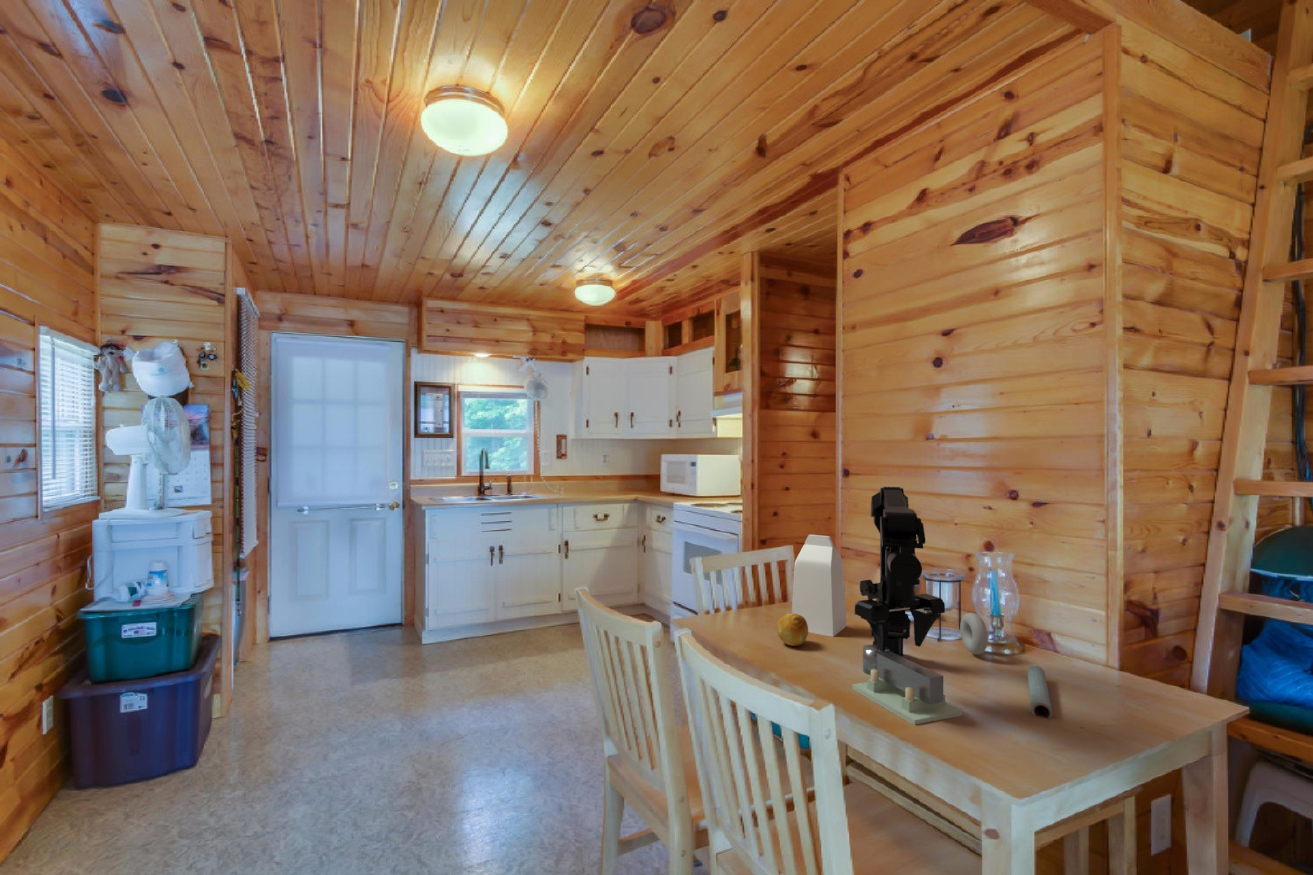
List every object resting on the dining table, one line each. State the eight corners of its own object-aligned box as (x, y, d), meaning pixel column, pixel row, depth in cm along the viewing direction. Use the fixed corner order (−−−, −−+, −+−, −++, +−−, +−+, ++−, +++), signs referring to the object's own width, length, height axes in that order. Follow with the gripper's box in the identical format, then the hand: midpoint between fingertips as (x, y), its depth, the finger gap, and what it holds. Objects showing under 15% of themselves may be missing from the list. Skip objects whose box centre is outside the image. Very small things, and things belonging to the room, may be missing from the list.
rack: (897, 681, 137) (897, 658, 137) (963, 715, 121) (963, 689, 121) (852, 688, 133) (852, 665, 133) (914, 725, 116) (914, 698, 116)
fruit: (812, 650, 158) (812, 618, 158) (779, 649, 158) (779, 618, 158) (804, 639, 166) (805, 609, 166) (774, 639, 166) (774, 609, 166)
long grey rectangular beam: (877, 665, 138) (877, 643, 138) (947, 700, 120) (947, 675, 120) (857, 669, 137) (857, 646, 137) (925, 705, 118) (925, 678, 118)
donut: (957, 646, 160) (957, 607, 160) (971, 646, 160) (971, 607, 160) (976, 660, 150) (976, 619, 150) (990, 660, 150) (990, 619, 150)
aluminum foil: (1027, 679, 140) (1027, 663, 140) (1062, 684, 137) (1062, 669, 137) (1031, 719, 120) (1031, 701, 120) (1073, 726, 117) (1073, 708, 117)
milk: (790, 628, 175) (791, 536, 175) (806, 618, 184) (806, 531, 184) (832, 636, 168) (833, 540, 168) (846, 626, 178) (846, 534, 178)
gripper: (907, 562, 139) (907, 632, 139) (837, 568, 132) (837, 641, 132) (946, 572, 129) (946, 648, 128) (873, 579, 122) (873, 659, 122)
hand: (900, 648), depth 128 cm, fingers open, 9 cm apart
